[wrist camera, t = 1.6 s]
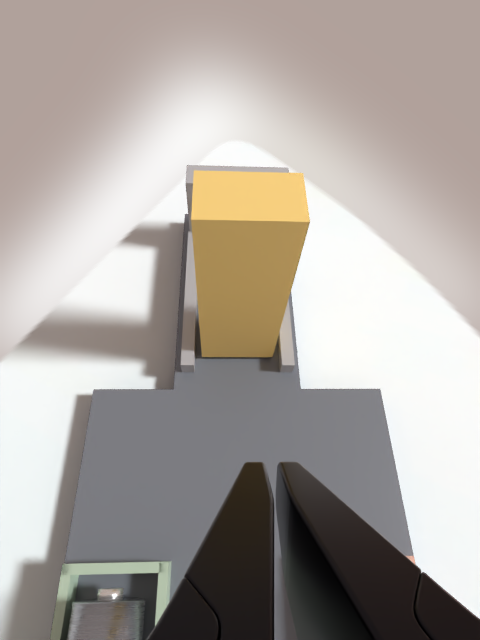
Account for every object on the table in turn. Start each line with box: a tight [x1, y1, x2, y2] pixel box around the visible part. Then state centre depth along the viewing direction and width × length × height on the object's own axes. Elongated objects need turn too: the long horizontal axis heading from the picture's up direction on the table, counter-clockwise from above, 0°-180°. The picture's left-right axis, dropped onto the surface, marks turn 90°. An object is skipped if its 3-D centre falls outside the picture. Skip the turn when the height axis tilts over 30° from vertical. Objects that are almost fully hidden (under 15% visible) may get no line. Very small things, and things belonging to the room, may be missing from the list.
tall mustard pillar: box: [191, 170, 310, 357], centre depth 19 cm, size 2×4×11 cm, turn 91°
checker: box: [50, 165, 415, 640], centre depth 20 cm, size 30×16×6 cm, turn 1°
